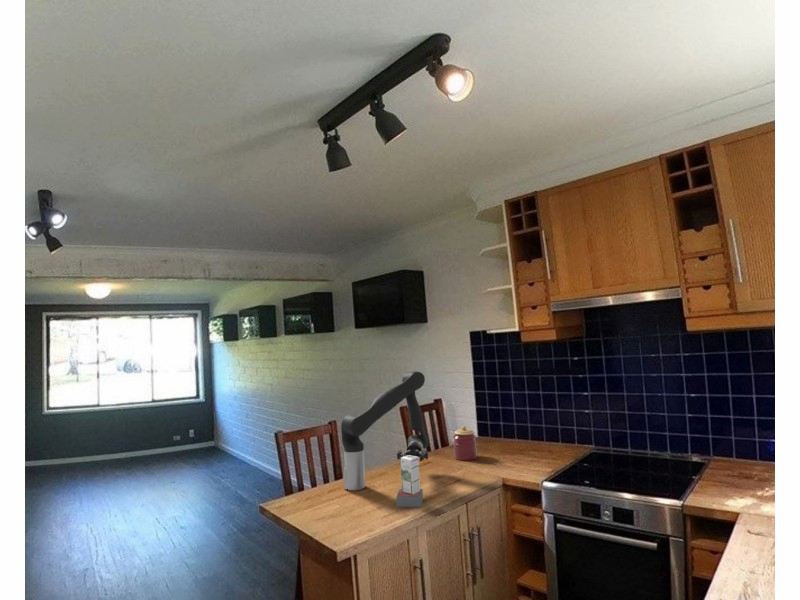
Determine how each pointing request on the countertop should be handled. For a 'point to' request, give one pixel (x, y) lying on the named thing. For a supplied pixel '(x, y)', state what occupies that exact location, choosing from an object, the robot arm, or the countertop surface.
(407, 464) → the syrup box
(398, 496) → the display plinth
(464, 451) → the canister
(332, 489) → the countertop surface
